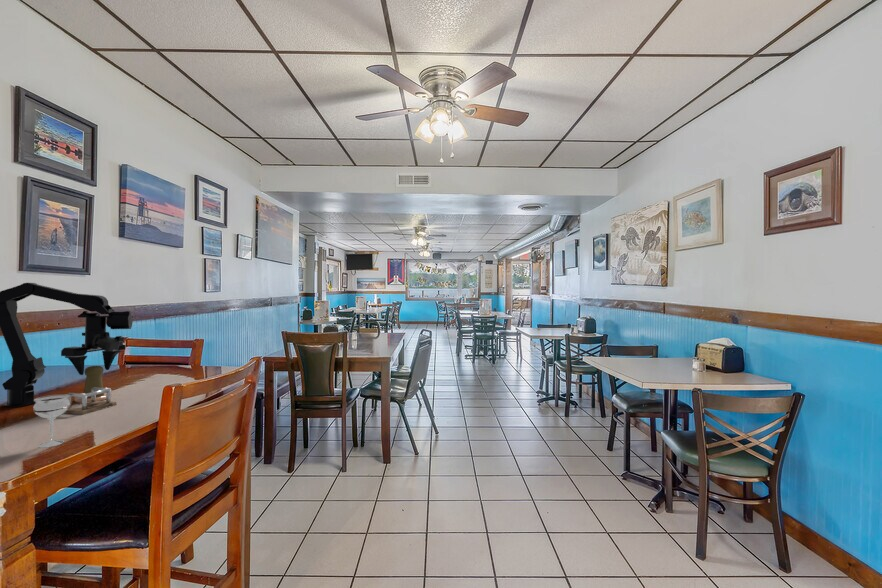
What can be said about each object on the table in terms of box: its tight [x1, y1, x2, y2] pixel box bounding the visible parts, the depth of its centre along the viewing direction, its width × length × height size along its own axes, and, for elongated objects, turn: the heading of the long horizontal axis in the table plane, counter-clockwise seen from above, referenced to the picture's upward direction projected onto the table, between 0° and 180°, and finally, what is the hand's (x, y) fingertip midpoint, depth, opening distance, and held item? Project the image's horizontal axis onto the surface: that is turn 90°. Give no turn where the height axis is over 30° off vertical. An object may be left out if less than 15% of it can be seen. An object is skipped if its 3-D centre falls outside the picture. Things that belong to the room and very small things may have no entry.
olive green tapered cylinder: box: [82, 365, 104, 398], centre depth 142 cm, size 6×6×11 cm
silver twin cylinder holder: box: [66, 387, 112, 410], centre depth 130 cm, size 7×9×5 cm
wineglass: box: [32, 394, 70, 449], centre depth 101 cm, size 7×7×12 cm
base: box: [63, 400, 117, 415], centre depth 130 cm, size 9×11×1 cm
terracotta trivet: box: [74, 393, 112, 404], centre depth 142 cm, size 10×10×1 cm
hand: (94, 372), depth 142 cm, fingers open, 9 cm apart
